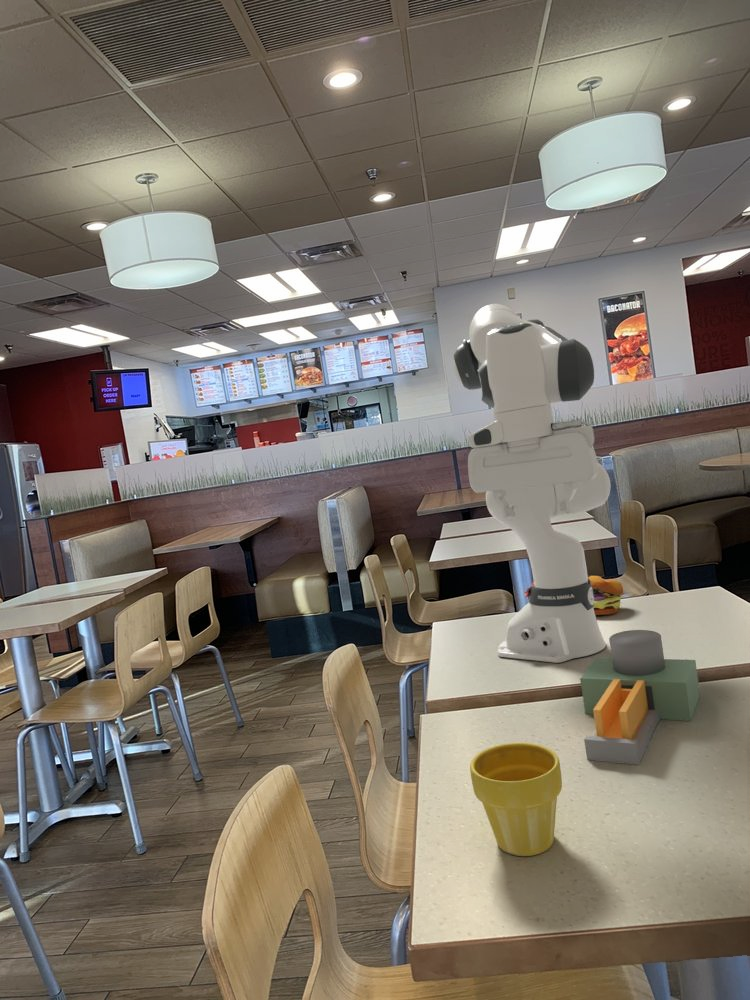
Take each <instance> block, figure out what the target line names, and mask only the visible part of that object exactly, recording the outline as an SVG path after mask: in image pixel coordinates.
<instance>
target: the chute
mask: <svg viewBox="0 0 750 1000" xmlns="http://www.w3.org/2000/svg"><path fill="white" fill-rule="evenodd" d="M593 712H594V714H593V717H594V725H595V733H597V737H609V738H620V739H632V740H635V738H636V736H637V734H638V732H639V730H640V728H641V726H642V724H643V722H644V720H645V718H646V716H647V714H648V712H649V711H648V704H647V697H646V690H645V682H644V680H637V682H636V683H635V685H634V687H633V688H632V689H622V688H621V681H620V679H613V681H612V682H611V684H610V685H609V687H608V688H607V690H606V691H605V693H604V694H603V696H602V697H601V699H600V700H599V702H598V703H597V705H596V706H595V708H594V709H593Z"/></svg>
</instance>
